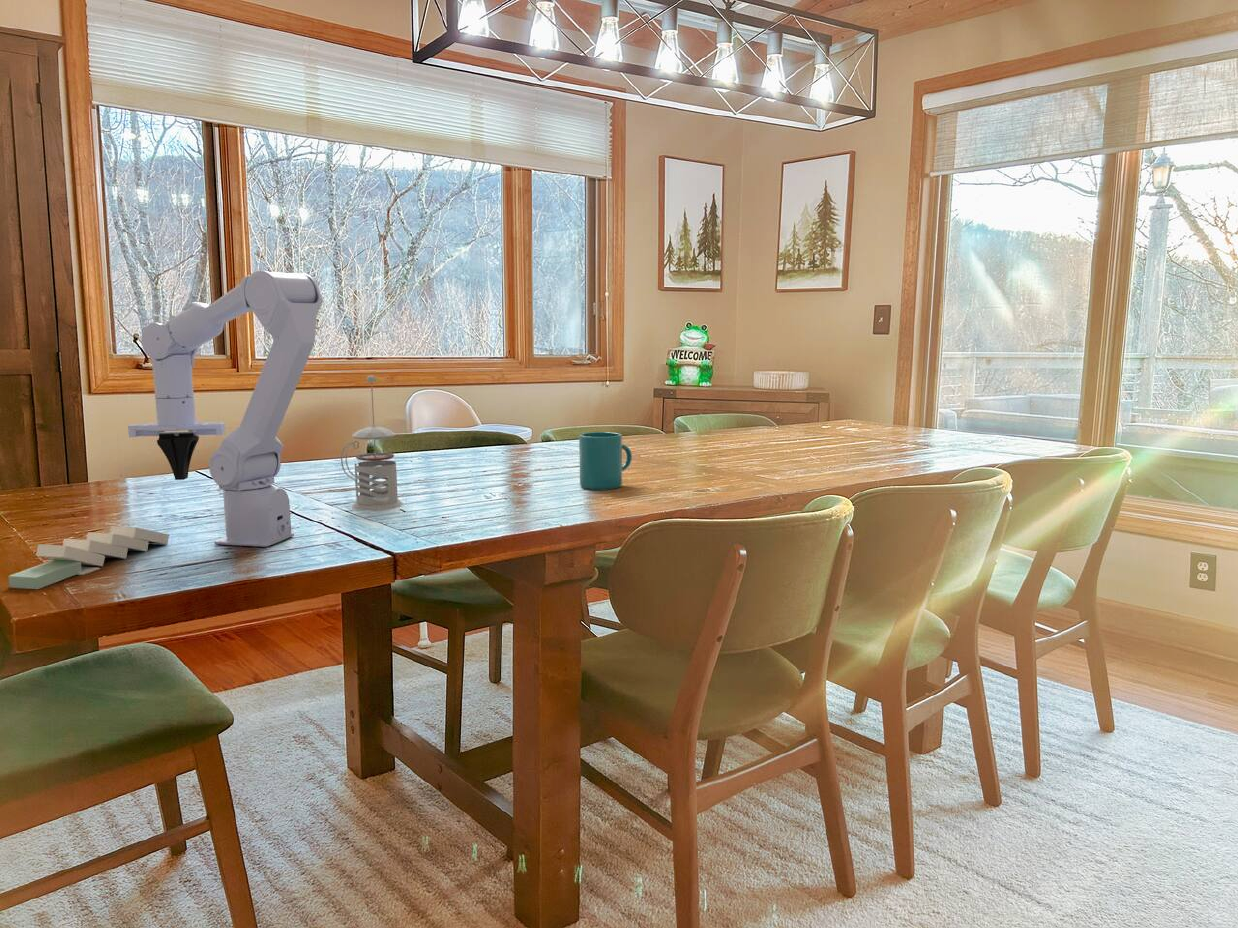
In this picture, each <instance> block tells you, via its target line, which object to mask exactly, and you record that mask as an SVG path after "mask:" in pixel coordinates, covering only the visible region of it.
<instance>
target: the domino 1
mask: <svg viewBox="0 0 1238 928" xmlns="http://www.w3.org/2000/svg"><path fill="white" fill-rule="evenodd" d="M81 567H82V565H81V561H67V560H53V559H51V560H50V561H46V562H44V563H41V564H38V565H35V566H32V567H29V568H27V569H24V570H22V571H21V570H20V571H18V572H16V573H12V574H10V575H8V583H9V588H13V589H14V588H15V589H28V590H29V589H31V590H39V589H42V588H44V587H47V586H49V585H52V584H55V583H57V582H60V581H62V580H66V579H68V578H71V577H73V576H75V575H76V574H79V573H81V572H82V569H81ZM76 576H77V575H76Z"/></svg>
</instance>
